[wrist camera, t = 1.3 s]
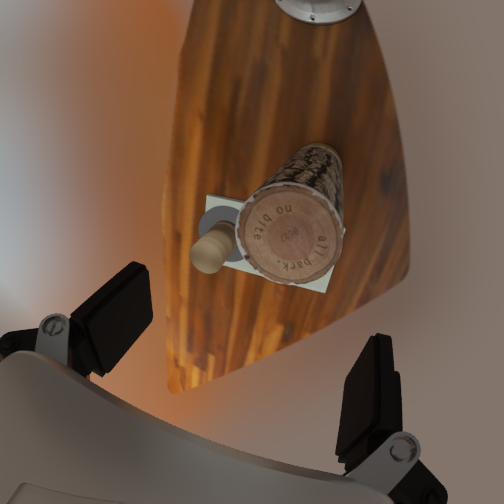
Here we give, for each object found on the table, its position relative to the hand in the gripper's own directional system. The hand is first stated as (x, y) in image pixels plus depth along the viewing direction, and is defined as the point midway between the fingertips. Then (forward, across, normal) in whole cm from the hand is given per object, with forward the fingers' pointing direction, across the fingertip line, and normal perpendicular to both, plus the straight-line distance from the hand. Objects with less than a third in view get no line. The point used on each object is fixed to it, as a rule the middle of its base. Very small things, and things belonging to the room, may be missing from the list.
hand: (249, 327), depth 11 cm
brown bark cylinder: (+33, 0, 0) cm, 33 cm away
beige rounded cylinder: (+32, +12, +14) cm, 37 cm away
